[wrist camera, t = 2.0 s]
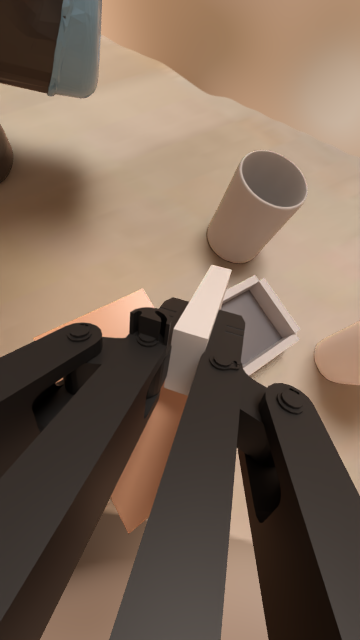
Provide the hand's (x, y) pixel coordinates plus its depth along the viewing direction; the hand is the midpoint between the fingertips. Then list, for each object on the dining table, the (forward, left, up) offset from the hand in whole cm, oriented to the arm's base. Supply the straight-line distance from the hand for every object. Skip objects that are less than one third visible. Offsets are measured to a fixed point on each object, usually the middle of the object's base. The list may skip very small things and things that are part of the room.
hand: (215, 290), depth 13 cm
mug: (+11, +19, -17) cm, 28 cm away
